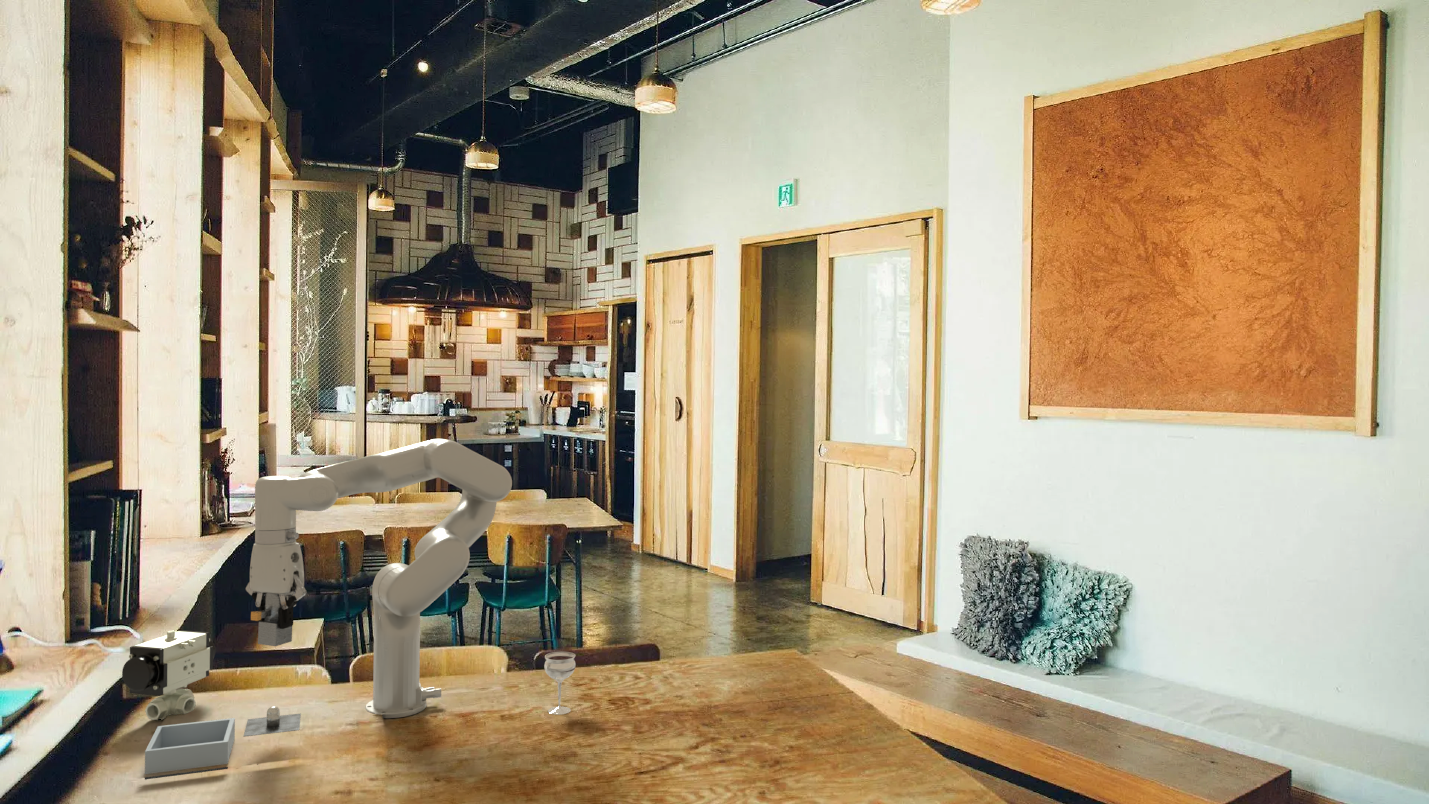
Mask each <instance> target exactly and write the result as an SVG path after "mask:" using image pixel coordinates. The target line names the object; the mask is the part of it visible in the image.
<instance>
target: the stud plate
mask: <svg viewBox="0 0 1429 804" xmlns="http://www.w3.org/2000/svg"><path fill="white" fill-rule="evenodd" d="M301 715H302V713H293V714H285V715H284V714H283V715H281V710H280V707H278V706H276V705H272V706H270V707H268V709H267V710H266V717H265V716H264V717H256V718H247V721H246V725H245V729H244V733H243V737H249V736H250V737H253V736H260V735H269V734H270V735H271V734H277V733H286V732H287V733H288V732H295V731H299V730H300V726H301V717H302V716H301Z"/></svg>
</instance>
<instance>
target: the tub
mask: <svg viewBox="0 0 1429 804" xmlns="http://www.w3.org/2000/svg"><path fill="white" fill-rule="evenodd" d="M235 720H236V718H235V717H232V718H231V717H229V718H222V719H214V720H212V719H211V720H203V721H195V722H184V723H177V724H176V723H174V724H167V725H157V727H156V729H155V732H154V733H153V735H152V737H151V738H150V741H149V743H148V745H147V747H146V749H145V750H144V775H150V774H158V773H164V772H165V773H166V772H173V771H181V770H190V769H195V768H198V769H199V768H204V767H205V768H206V767H213V766H221V765H228V763H229V760H230V756H231V753H232V749H233V746H234V742H235V737H236V736H235V735H236V733H235V731H236V729H235V728H236V721H235ZM228 769H229V767H228V766H224V767H216V768H210V769H202V770H192V771H185V772H177V773H170V774H161V775H160V774H159V775H153V776H145V777H144V780H152V779H160V778H166V777H168V778H169V777H175V776H184V775H189V774H190V775H191V774H199V773H206V772H207V773H208V772H215V771H224V770H228Z"/></svg>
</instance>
